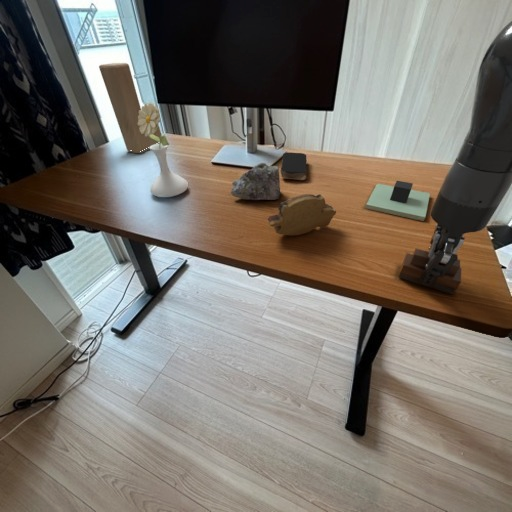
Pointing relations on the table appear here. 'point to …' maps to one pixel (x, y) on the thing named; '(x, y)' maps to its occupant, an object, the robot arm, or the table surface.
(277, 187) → the mineral rock
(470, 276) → the table surface
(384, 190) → the tray
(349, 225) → the table surface
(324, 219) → the wooden carving
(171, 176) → the flower in vase
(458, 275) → the brown stepped block
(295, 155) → the black sponge
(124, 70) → the decorative block
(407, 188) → the charcoal matte cube
